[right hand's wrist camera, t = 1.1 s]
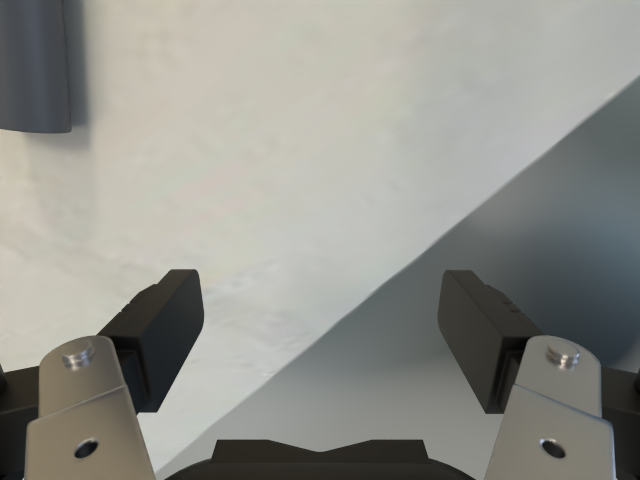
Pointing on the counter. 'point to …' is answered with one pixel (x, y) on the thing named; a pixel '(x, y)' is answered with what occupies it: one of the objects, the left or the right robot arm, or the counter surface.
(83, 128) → the counter surface
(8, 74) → the rod
